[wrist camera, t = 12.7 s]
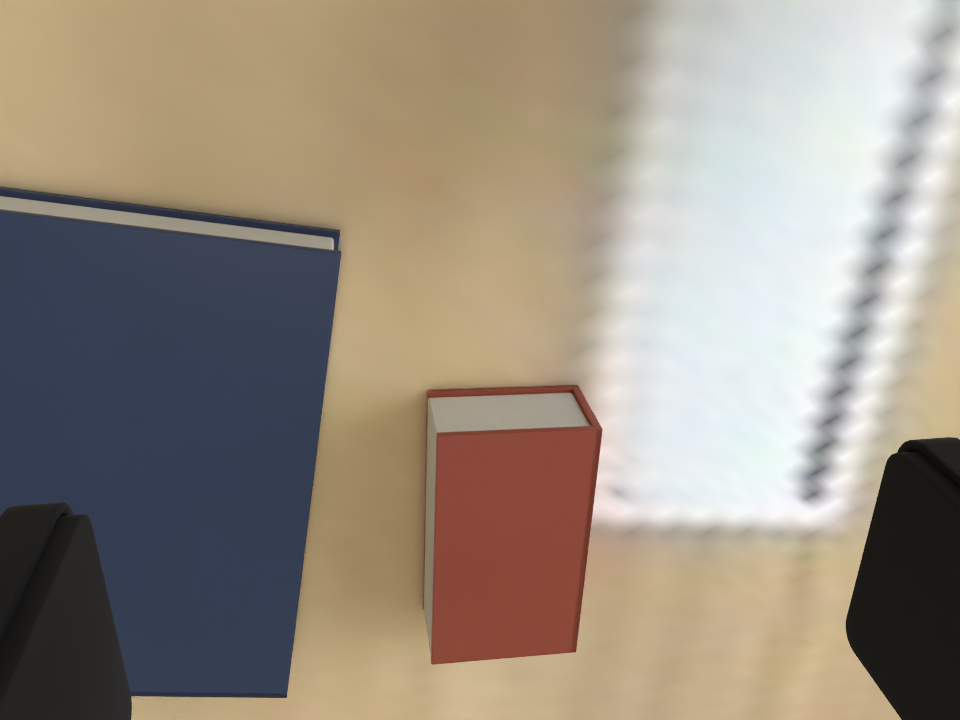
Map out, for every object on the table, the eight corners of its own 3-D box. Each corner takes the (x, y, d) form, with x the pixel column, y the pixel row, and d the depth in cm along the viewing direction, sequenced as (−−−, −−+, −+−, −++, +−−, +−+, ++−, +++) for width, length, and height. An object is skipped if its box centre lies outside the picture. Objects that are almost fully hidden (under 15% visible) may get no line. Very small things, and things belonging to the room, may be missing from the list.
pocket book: (577, 384, 36) (602, 428, 33) (556, 595, 41) (576, 652, 37) (426, 390, 35) (437, 436, 32) (423, 605, 40) (431, 664, 36)
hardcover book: (339, 230, 32) (341, 253, 29) (288, 653, 40) (286, 698, 37) (-95, 174, 28) (-132, 195, 26) (-54, 646, 37) (-79, 694, 34)
